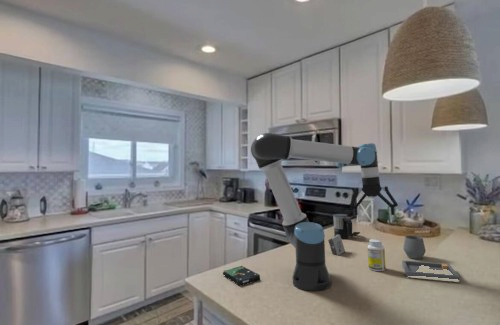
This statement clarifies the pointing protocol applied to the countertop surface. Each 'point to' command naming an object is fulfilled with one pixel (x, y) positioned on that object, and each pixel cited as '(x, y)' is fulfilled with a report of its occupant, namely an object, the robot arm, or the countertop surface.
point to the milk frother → (343, 226)
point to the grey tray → (413, 266)
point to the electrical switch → (336, 245)
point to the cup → (414, 247)
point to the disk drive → (241, 275)
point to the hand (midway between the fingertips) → (375, 222)
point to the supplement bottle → (376, 255)
